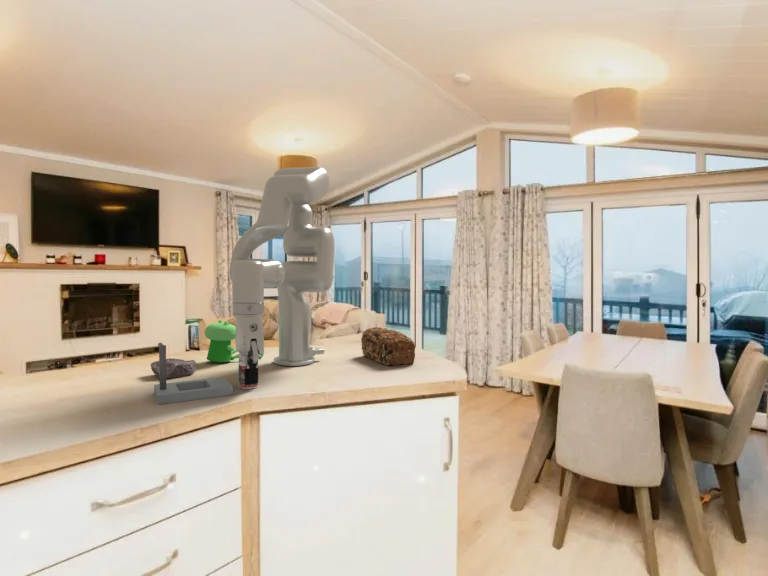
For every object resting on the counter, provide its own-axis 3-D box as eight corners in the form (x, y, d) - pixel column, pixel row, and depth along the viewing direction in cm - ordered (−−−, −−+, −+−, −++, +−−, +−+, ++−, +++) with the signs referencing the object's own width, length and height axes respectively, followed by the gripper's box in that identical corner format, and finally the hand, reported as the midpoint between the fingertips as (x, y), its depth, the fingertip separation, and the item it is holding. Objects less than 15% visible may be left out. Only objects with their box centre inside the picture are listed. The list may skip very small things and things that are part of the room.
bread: (360, 356, 158) (360, 327, 157) (388, 353, 163) (388, 325, 162) (386, 368, 142) (387, 335, 141) (416, 364, 147) (417, 333, 146)
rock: (201, 375, 130) (201, 358, 129) (157, 382, 122) (157, 364, 122) (191, 370, 136) (191, 354, 135) (148, 376, 128) (148, 359, 128)
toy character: (264, 362, 151) (267, 322, 151) (209, 365, 139) (212, 322, 139) (251, 357, 158) (254, 319, 158) (197, 360, 146) (200, 318, 146)
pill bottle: (239, 390, 115) (239, 356, 114) (237, 385, 119) (237, 353, 118) (259, 388, 117) (259, 355, 116) (256, 383, 121) (256, 351, 120)
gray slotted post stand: (223, 384, 120) (222, 337, 119) (232, 394, 111) (232, 344, 110) (153, 392, 112) (153, 342, 111) (158, 404, 103) (157, 350, 102)
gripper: (273, 312, 111) (273, 387, 112) (253, 305, 126) (254, 372, 127) (241, 313, 107) (241, 391, 108) (225, 306, 122) (225, 375, 123)
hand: (248, 380), depth 118 cm, fingers open, 4 cm apart
